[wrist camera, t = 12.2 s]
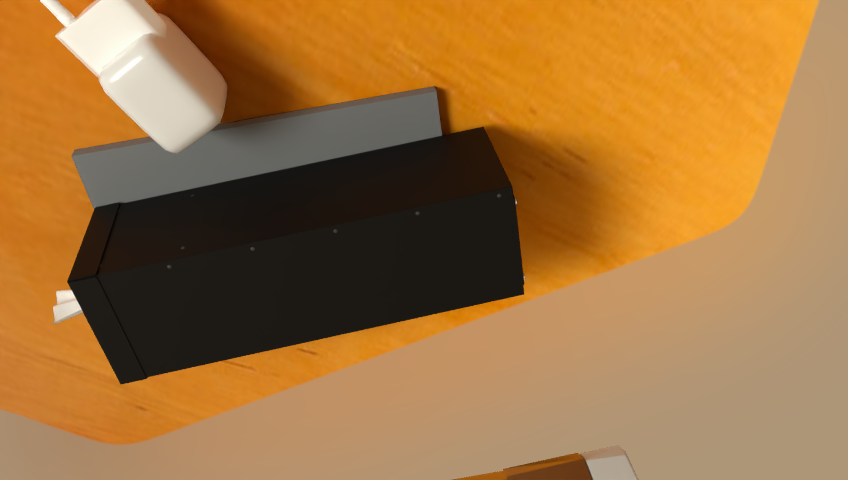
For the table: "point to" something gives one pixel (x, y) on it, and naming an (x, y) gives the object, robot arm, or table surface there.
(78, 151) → the mat
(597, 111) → the table surface
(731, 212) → the table surface
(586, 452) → the robot arm
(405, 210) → the black long block
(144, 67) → the power adapter
